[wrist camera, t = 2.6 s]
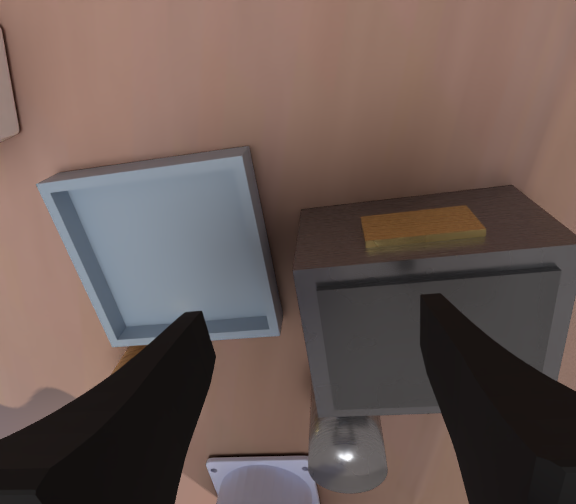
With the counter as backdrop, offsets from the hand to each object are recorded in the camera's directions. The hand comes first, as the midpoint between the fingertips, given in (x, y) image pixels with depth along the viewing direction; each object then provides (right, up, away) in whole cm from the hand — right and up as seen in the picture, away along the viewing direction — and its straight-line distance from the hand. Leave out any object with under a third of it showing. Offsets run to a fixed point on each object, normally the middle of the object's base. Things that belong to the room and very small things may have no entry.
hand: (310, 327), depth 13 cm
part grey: (+3, -6, +12) cm, 14 cm away
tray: (-7, +3, +9) cm, 11 cm away
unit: (+5, +2, +8) cm, 10 cm away
